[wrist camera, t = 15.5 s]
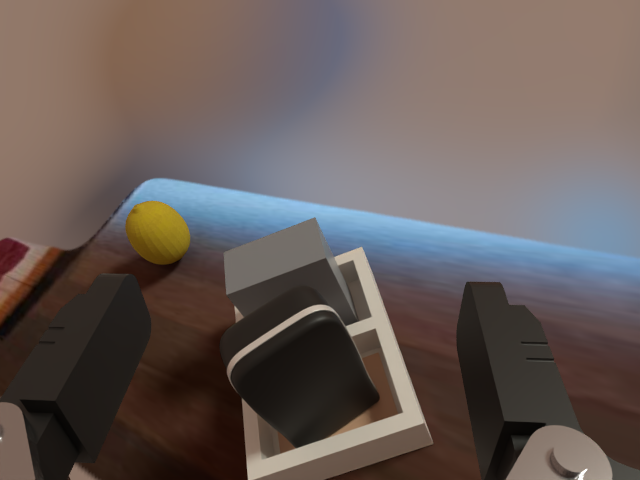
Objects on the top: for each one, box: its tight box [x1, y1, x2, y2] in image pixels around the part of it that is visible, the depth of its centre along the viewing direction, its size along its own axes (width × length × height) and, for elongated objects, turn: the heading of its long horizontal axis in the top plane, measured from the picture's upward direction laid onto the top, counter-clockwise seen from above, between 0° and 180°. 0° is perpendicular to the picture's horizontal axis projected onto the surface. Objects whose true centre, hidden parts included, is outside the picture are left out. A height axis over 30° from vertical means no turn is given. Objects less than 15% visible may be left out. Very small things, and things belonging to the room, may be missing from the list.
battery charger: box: [219, 285, 380, 448], centre depth 30 cm, size 7×4×11 cm, turn 117°
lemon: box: [125, 201, 190, 265], centre depth 49 cm, size 6×6×8 cm
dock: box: [224, 218, 433, 480], centre depth 34 cm, size 11×15×10 cm
